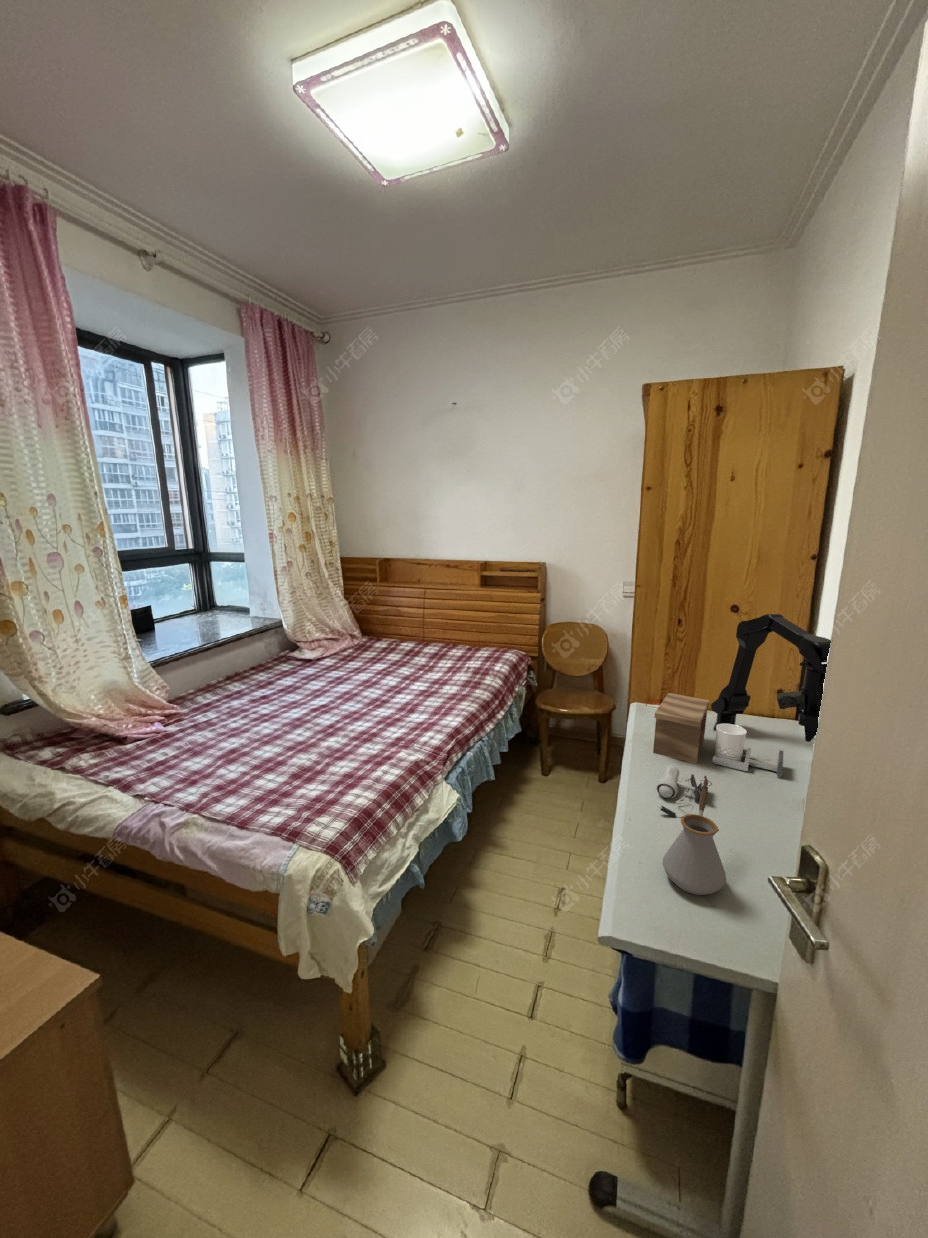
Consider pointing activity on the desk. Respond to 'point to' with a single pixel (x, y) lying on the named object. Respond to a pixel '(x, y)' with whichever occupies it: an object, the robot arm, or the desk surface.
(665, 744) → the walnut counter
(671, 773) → the clip-on lamp
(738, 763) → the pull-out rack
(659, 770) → the desk surface
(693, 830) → the coffee pot
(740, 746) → the white cup
